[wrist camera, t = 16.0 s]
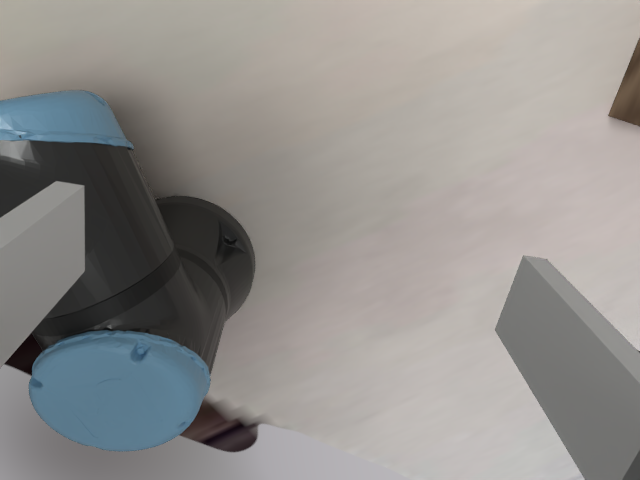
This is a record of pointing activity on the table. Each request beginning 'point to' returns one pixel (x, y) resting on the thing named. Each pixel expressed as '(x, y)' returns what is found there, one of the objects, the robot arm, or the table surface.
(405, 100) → the table surface
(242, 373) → the table surface
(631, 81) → the base block
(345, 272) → the table surface
